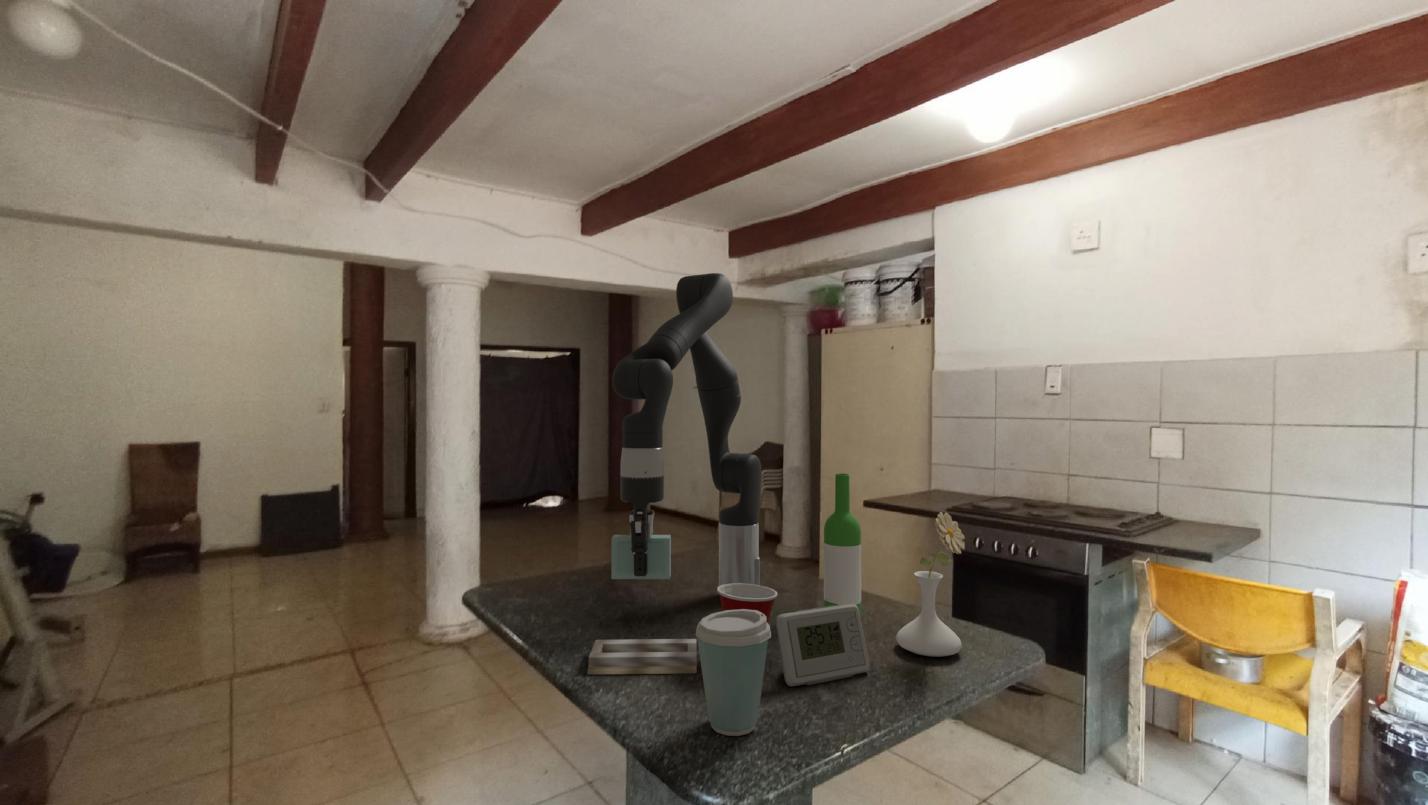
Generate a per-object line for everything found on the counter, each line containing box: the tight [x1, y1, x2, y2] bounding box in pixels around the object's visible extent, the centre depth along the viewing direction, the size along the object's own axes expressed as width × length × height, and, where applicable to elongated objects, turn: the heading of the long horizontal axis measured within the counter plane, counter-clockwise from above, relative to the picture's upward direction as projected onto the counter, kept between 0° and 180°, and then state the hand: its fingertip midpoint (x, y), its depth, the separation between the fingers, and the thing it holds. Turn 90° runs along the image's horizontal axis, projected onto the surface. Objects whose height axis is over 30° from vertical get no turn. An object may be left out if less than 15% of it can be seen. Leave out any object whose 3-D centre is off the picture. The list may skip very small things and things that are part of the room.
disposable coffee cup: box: [695, 609, 772, 737], centre depth 88 cm, size 11×11×15 cm
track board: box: [587, 638, 698, 675], centre depth 110 cm, size 18×10×2 cm, turn 92°
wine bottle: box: [823, 473, 862, 615], centre depth 134 cm, size 8×8×30 cm
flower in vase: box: [895, 511, 966, 658], centre depth 116 cm, size 13×11×25 cm
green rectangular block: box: [610, 534, 672, 580], centre depth 110 cm, size 10×3×7 cm, turn 91°
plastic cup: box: [716, 583, 778, 625], centre depth 112 cm, size 11×11×12 cm
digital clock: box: [775, 604, 870, 687], centre depth 105 cm, size 16×9×11 cm, turn 102°
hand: (641, 572), depth 110 cm, fingers closed on green rectangular block, 3 cm apart
